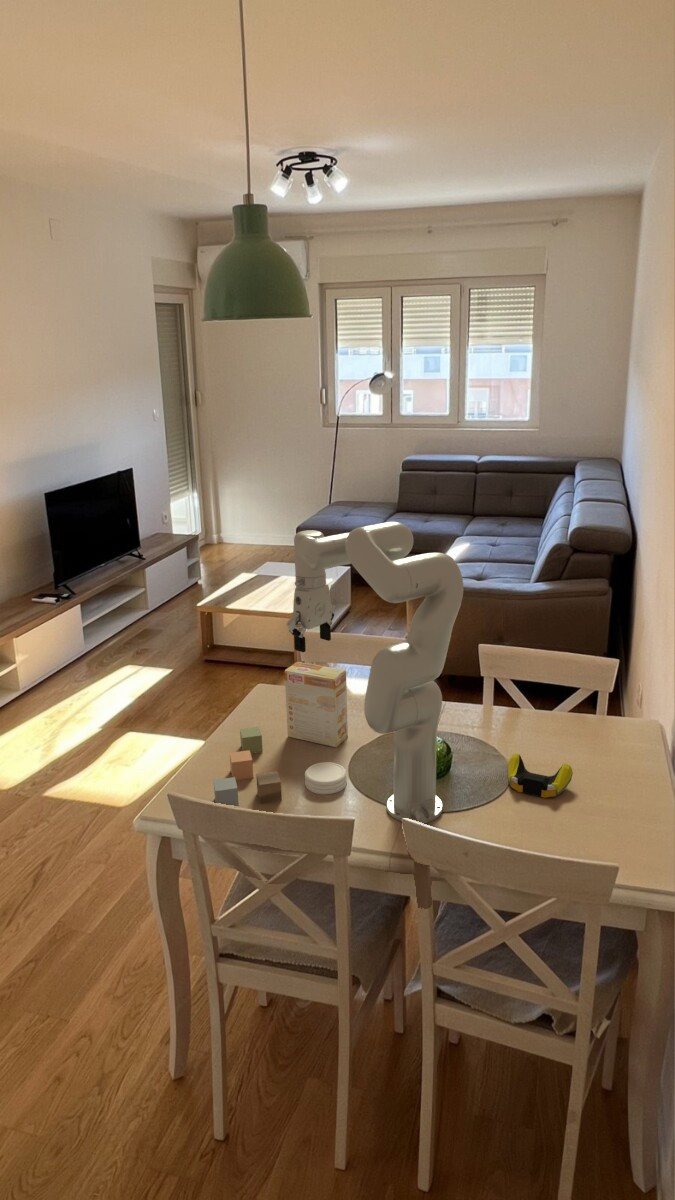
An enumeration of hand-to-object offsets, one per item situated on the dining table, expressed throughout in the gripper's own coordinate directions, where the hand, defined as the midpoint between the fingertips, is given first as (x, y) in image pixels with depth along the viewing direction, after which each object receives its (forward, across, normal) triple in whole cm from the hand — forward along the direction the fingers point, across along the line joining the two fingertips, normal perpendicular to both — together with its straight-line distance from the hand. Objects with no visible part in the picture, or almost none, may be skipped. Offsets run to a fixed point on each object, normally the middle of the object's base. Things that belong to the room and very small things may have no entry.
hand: (313, 645), depth 210 cm
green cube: (+28, -13, +11) cm, 32 cm away
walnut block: (+28, -27, -9) cm, 40 cm away
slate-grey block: (+28, -35, -3) cm, 45 cm away
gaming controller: (+28, +15, -56) cm, 64 cm away
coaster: (+28, -15, -16) cm, 35 cm away
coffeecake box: (+28, +2, +2) cm, 28 cm away
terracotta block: (+28, -24, +4) cm, 36 cm away
